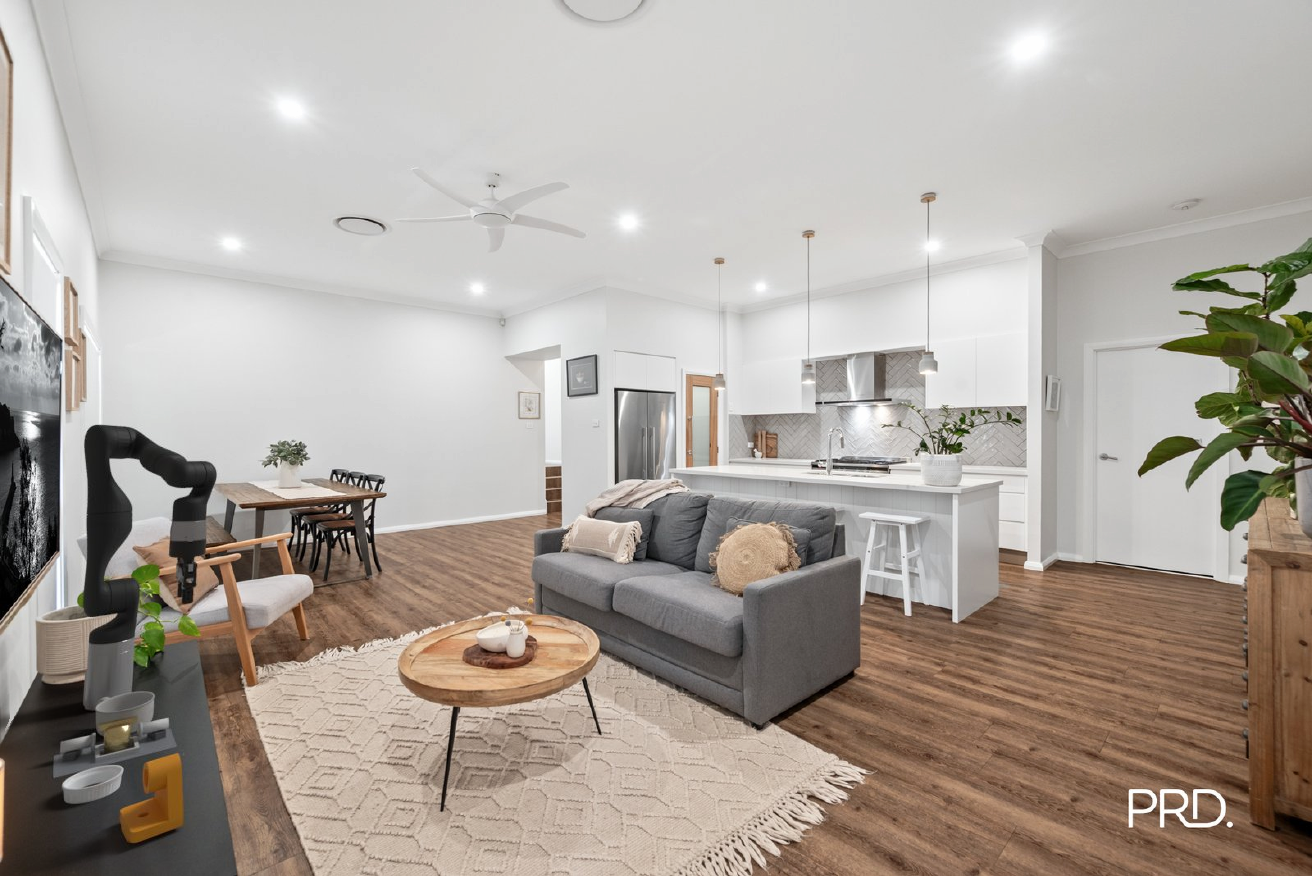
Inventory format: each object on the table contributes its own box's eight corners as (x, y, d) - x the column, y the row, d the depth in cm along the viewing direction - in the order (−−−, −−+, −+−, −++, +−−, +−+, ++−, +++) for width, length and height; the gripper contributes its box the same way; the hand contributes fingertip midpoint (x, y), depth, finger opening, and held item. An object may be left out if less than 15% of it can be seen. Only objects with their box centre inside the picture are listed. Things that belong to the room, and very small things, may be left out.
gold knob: (97, 759, 130) (99, 728, 130) (96, 751, 133) (98, 721, 133) (136, 749, 134) (137, 719, 134) (134, 742, 137) (136, 713, 138)
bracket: (118, 823, 110) (122, 758, 111) (167, 806, 116) (171, 744, 116) (131, 849, 104) (135, 779, 104) (182, 830, 109) (186, 764, 110)
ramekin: (68, 817, 112) (70, 794, 112) (54, 801, 116) (55, 779, 117) (129, 795, 119) (130, 773, 119) (113, 781, 124) (114, 760, 124)
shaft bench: (52, 784, 122) (54, 755, 122) (53, 761, 131) (55, 734, 131) (176, 752, 136) (178, 726, 136) (170, 733, 145) (171, 709, 145)
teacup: (162, 729, 147) (164, 696, 147) (107, 748, 137) (109, 713, 137) (132, 717, 153) (134, 685, 153) (77, 734, 143) (79, 701, 143)
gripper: (166, 535, 157) (163, 597, 156) (173, 542, 147) (169, 608, 146) (201, 533, 162) (198, 593, 162) (210, 539, 152) (207, 603, 151)
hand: (184, 600), depth 154 cm, fingers open, 8 cm apart
